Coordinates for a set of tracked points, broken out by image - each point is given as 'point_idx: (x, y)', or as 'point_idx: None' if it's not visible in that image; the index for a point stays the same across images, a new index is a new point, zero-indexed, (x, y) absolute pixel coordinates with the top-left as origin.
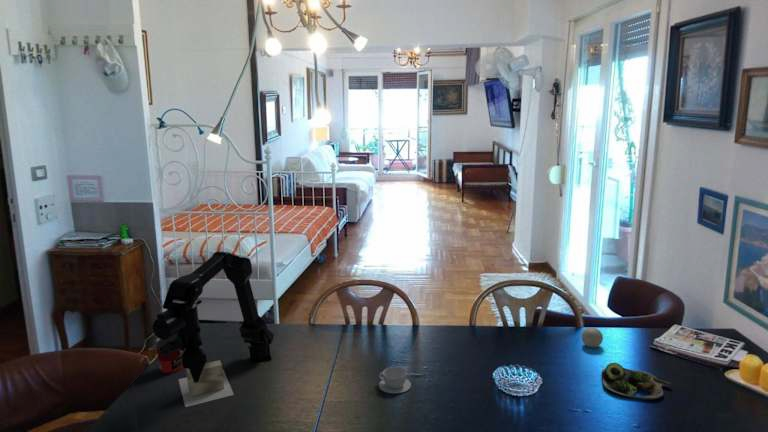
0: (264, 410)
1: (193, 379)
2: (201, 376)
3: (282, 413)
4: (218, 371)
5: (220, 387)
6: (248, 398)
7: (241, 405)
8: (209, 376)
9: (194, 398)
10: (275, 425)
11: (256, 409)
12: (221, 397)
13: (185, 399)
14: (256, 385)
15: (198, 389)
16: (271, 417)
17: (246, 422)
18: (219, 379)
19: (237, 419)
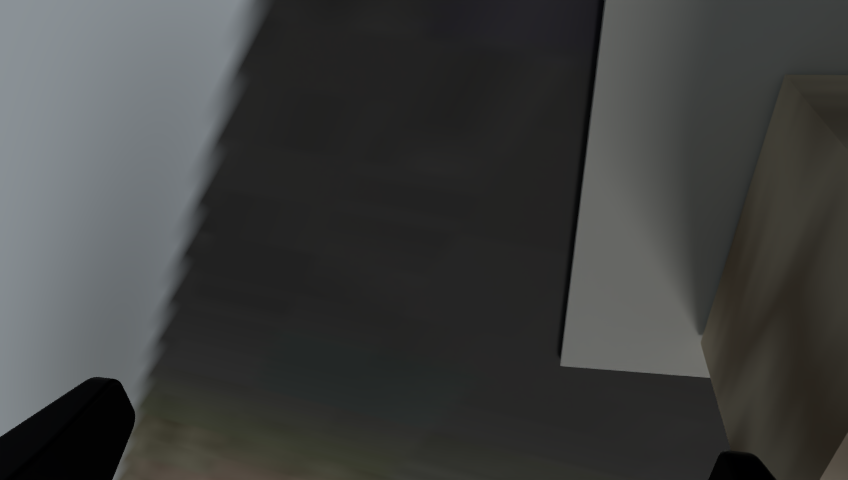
0: (291, 426)
1: (14, 431)
2: (814, 335)
3: (234, 467)
4: None
5: (710, 334)
6: (468, 407)
7: (401, 361)
8: (775, 381)
9: (724, 107)
10: None
11: (317, 404)
12: (575, 296)
13: (780, 15)
14: (604, 474)
15: (778, 192)
16: (210, 428)
17: (191, 334)
18: (731, 397)
19: (239, 306)
